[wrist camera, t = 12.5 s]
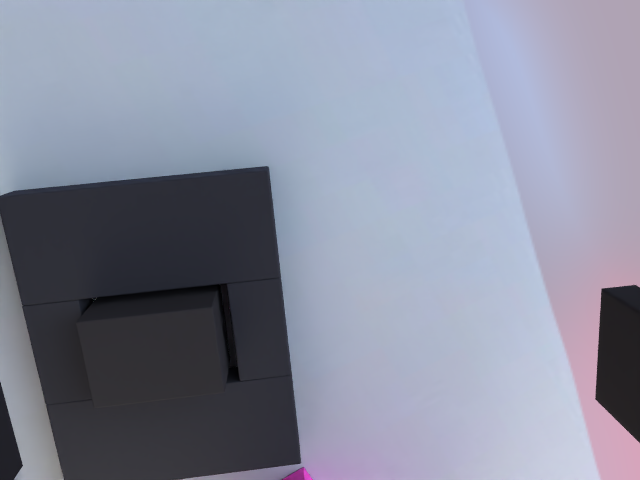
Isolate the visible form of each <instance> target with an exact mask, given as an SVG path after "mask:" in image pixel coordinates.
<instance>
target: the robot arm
mask: <svg viewBox="0 0 640 480" xmlns="http://www.w3.org/2000/svg"><path fill="white" fill-rule="evenodd" d="M595 399H596V400H597V401H598V402H599V403H600V404H601V405H602V406H603V407H604V408H605V409H606V410H607V411H608V412H609V413H610V414H611V415H612V416H613V417H614V418H615V419H616V420H617V421H618V422H619V423H620V424H621V425H622V426H623V427H624V428H625V429H626V430H627V431H629V433H630V434H631V435H632V436H633V437H634V438H635V439H636V440H637V441H638V442H640V287H638V286H636V285H632V286H622V287H613V288H604V289H602V292H601V311H600V327H599V345H598V363H597V381H596V398H595ZM22 466H23V465H22V461H21V457H20V453H19V450H18V446H17V442H16V439H15V435H14V431H13V427H12V424H11V420H10V416H9V413H8V409H7V405H6V401H5V398H4V394H3V390H2V387H1V383H0V480H13V479H14V478H15V477H16V475H17V474H18V472H19V471H20V469H21V468H22Z"/></svg>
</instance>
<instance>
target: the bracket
mask: <svg viewBox="0 0 640 480" xmlns="http://www.w3.org/2000/svg"><path fill="white" fill-rule="evenodd" d="M282 480H313V479H312V478H311V477H310V475H309V474H308V473H307V471H306V470H305V468H304V467H303V468H301V469H299V470H298V471H296V472H294V473H292V474H291V475H289V476H287V477H286V478H284V479H282Z"/></svg>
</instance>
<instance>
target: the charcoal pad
mask: <svg viewBox="0 0 640 480" xmlns="http://www.w3.org/2000/svg"><path fill="white" fill-rule="evenodd" d="M0 214H1V219H2V223H3V227H4V231H5V235H6V239H7V244H8V248H9V252H10V256H11V260H12V264H13V268H14V273H15V277H16V281H17V285H18V289H19V293H20V298H21V302H22V305H23V306H22V308H23V312H24V316H25V320H26V324H27V328H28V332H29V337H30V341H31V345H32V349H33V353H34V357H35V362H36V366H37V370H38V374H39V378H40V382H41V386H42V391H43V395H44V399H45V403H46V404H47V405H46V407H47V411H48V415H49V419H50V423H51V427H52V432H53V436H54V440H55V444H56V448H57V452H58V457H59V461H60V465H61V469H62V473H63V477H64V480H178V479H185V478H193V477H201V476H209V475H216V474H224V473H232V472H240V471H247V470H255V469H263V468H270V467H278V466H286V465H294V464H300V463H301V458H300V445H299V436H298V426H297V417H296V408H295V399H294V390H293V381H292V372H291V363H290V354H289V345H288V336H287V327H286V318H285V309H284V300H283V291H282V282H281V273H280V264H279V255H278V246H277V237H276V228H275V219H274V210H273V201H272V192H271V183H270V174H269V167H267V166H265V167H255V168H244V169H234V170H224V171H214V172H203V173H193V174H183V175H172V176H162V177H152V178H142V179H131V180H121V181H111V182H101V183H90V184H80V185H70V186H59V187H49V188H39V189H29V190H18V191H13V192H10V193H7V194H4V195H1V196H0ZM226 283H227V292H228V300H229V307H230V314H231V321H232V329H233V336H234V343H235V350H236V358H237V365H238V366H237V367H229V369H228V375H227V382H226V388H225V392H224V393H217V394H209V395H200V396H192V397H183V398H175V399H167V400H158V401H150V402H141V403H133V404H125V405H116V406H108V407H100V408H94V406H93V401H92V396H91V392H90V387H89V382H88V378H87V373H86V368H85V364H84V359H83V354H82V350H81V345H80V340H79V336H78V331H77V326H76V321H77V320H78V319H79V318H80V317H81V316H82V315H83V314H84V312H85V311H86V310H87V309H88V308H89V307H90V306H91V304H92V303H93V301H92V298H98V297H107V296H116V295H125V294H134V293H143V292H152V291H162V290H171V289H180V288H189V287H198V286H207V285H216V284H226Z"/></svg>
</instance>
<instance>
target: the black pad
mask: <svg viewBox="0 0 640 480" xmlns="http://www.w3.org/2000/svg"><path fill="white" fill-rule="evenodd" d="M76 326H77V331H78V336H79V340H80V345H81V350H82V354H83V359H84V364H85V368H86V373H87V378H88V382H89V387H90V392H91V396H92V401H93V406H94V408H100V407H108V406H116V405H125V404H133V403H141V402H150V401H158V400H167V399H175V398H183V397H192V396H200V395H209V394H217V393H224V392H225V388H226V382H227V375H228V369H229V363H230V354H229V346H228V339H227V332H226V325H225V318H224V311H223V303H222V296H221V289H220V284H216V285H207V286H198V287H189V288H180V289H171V290H162V291H152V292H143V293H134V294H125V295H116V296H107V297H98V298H97V299H96V300H95V301H94V302H93V303H92V304H91V306H90V307H89V308H88V309H87V310H86V311H85V312H84V314H83V315H82V316H81V317H80V318H79V319H78V320H77V321H76Z"/></svg>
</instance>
